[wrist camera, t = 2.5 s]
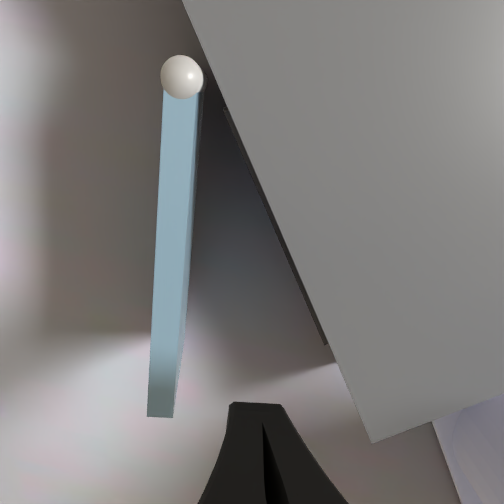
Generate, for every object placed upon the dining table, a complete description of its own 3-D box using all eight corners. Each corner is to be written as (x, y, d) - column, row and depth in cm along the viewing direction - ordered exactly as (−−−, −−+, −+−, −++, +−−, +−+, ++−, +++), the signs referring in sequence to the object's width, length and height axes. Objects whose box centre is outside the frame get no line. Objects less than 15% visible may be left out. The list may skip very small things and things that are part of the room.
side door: (187, 337, 19) (176, 417, 14) (162, 335, 19) (143, 416, 14) (209, 67, 16) (203, 57, 11) (179, 63, 16) (161, 52, 11)
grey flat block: (553, 276, 20) (656, 334, 15) (334, 364, 21) (367, 445, 16) (427, -317, 13) (542, -544, 8) (111, -153, 14) (54, -278, 9)
